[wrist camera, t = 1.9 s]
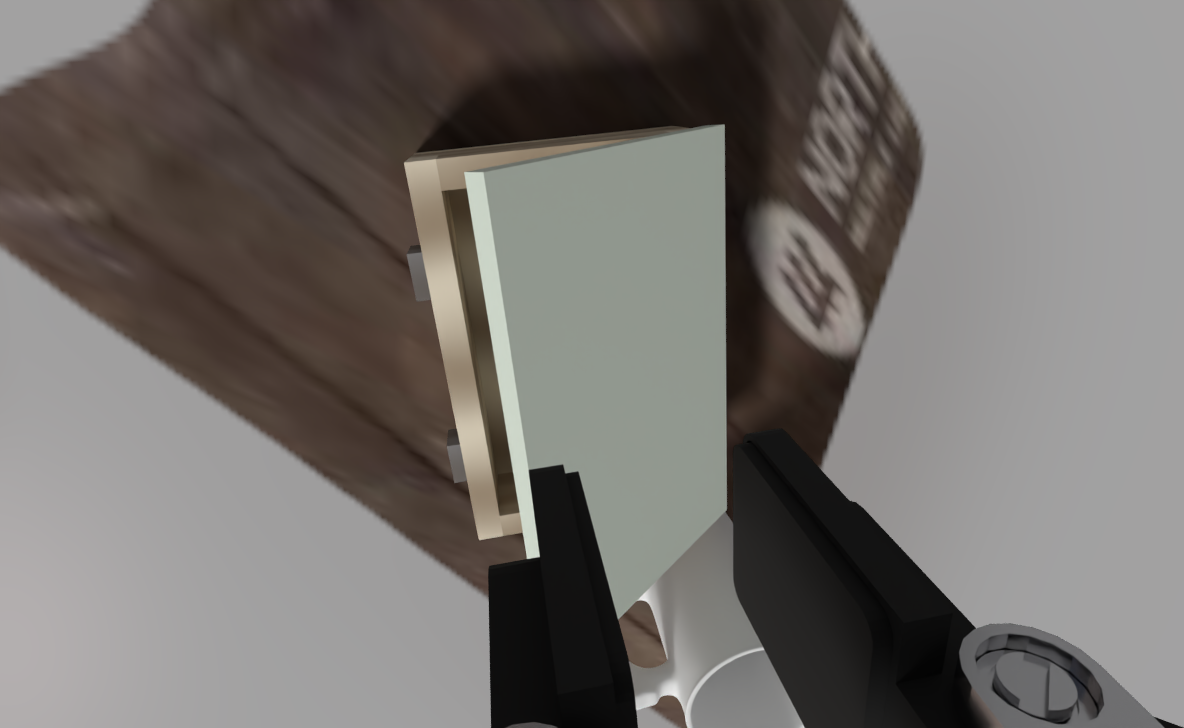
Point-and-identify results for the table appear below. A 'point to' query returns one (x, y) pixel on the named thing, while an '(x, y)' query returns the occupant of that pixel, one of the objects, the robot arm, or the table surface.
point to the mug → (711, 644)
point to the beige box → (474, 312)
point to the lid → (614, 337)
